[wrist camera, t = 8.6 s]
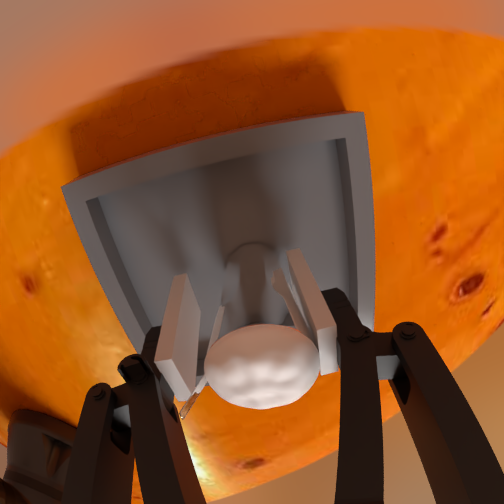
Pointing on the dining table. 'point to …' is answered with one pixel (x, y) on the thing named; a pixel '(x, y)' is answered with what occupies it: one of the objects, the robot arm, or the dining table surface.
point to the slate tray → (230, 216)
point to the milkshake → (258, 336)
